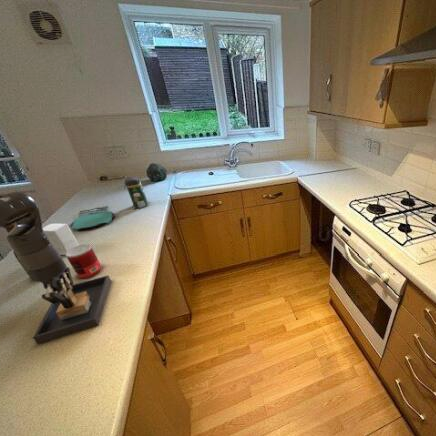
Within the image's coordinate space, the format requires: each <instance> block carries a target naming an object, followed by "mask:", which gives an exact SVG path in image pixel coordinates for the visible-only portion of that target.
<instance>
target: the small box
mask: <svg viewBox="0 0 436 436" xmlns="http://www.w3.org/2000/svg"><path fill="white" fill-rule="evenodd" d="M43 231H44V232H45V234H46V235H47V237H48V239H49V240H50V242H51V243H52V244H53V246H54V247H55V248H56V249H57V251H58V253H59V254H60V256H66V253H67V252H68V251H69V250H70V249H72V248H74V247H76V246H79V245H80V243H79V242H78V240H77V239H76V236H75V235H74V233H73V232H72V230H71V229H70V226H69V225H68V223H49V224H48V225H45V226H44V227H43Z"/></svg>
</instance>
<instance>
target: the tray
mask: <svg viewBox="0 0 436 436" xmlns="http://www.w3.org/2000/svg"><path fill="white" fill-rule="evenodd" d="M111 284H112V279H111V278H110V275H104V276H100V277H97V278H92V279H89V280H85V281H82V282H77V283H73V285H71V286H72V291H73V292H74V294H78V293H81V292H85V291H86V292H87V294H88V295H89V297H90V298H89V301H90V302H91V306H90V308H89V311H88V312H87V313H84V314H81V315H77V316H74V317H71V318H67V319H64V320H61V319H60V318H59V316H58V315H57V313H56V311H57V309H58V307H59V305H60V302H59V303H56V304H53V303H50V306H49V307H48V309H47V311H46V313H45V315H44V317H43V318H42V320H41V322H40V324H39V326H38V327H37V329H36V331H35V332H34V335H33V336H32V340H34V341H35V343H36V344H37V345H42V344H44V343H47V342H51V341H54V340H57V339H60V338H63V337H67V336H70V335H73V334H76V333H79V332H82V331H85V330H88V329H92V328H94V327H97V326H99V324H100V322H101V318H102V314H103V311H104V307H105V304H106V302H107V298H108V294H109V290H110V287H111Z"/></svg>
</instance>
